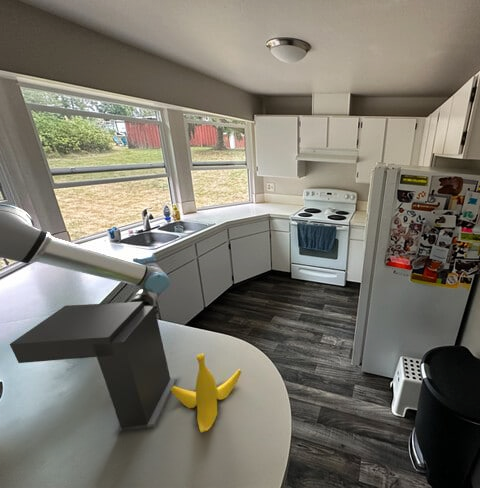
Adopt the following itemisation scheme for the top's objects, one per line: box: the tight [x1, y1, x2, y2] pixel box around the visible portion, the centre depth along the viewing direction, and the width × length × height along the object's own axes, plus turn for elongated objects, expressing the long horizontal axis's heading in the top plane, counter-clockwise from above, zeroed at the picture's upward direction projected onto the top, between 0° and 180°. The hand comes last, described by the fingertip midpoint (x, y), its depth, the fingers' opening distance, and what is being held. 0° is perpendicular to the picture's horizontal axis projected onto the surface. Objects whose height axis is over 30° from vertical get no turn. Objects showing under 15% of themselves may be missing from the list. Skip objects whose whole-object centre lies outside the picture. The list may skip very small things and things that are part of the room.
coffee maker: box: [9, 301, 177, 432], centre depth 64 cm, size 22×14×28 cm, turn 99°
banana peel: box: [171, 353, 242, 433], centre depth 65 cm, size 17×19×17 cm
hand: (115, 343), depth 76 cm, fingers closed on soap dispenser, 6 cm apart
